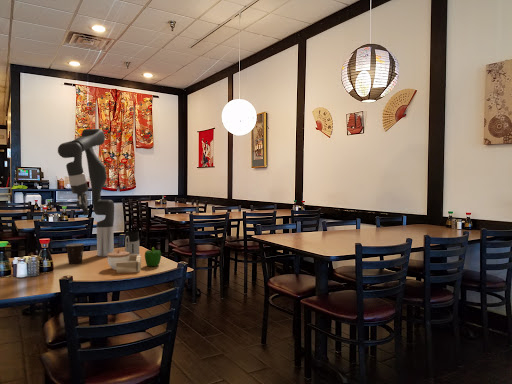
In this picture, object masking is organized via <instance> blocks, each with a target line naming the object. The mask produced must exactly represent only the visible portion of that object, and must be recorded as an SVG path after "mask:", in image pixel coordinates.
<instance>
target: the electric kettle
mask: <svg viewBox="0 0 512 384" xmlns="http://www.w3.org/2000/svg"><path fill="white" fill-rule="evenodd" d="M124 234H125V235H124V239H125V240H124V251H126V252H129V253H130V255H134V254H140V232H139V231H137V230H132V231H131V230H129V231H125V233H124Z"/></svg>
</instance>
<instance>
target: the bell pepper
mask: <svg viewBox="0 0 512 384" xmlns="http://www.w3.org/2000/svg"><path fill="white" fill-rule="evenodd" d="M144 259H145V260H144V261H145V264H146V266H147V267H152V266H153V267H157V266H159V264H160V263H161V259H162V252H161V250H160V249H157V250H156V249H155V247H154V246H153V247H152V248H151V250H149V249H148V250H146V251H145V253H144Z"/></svg>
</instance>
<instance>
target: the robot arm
mask: <svg viewBox="0 0 512 384" xmlns="http://www.w3.org/2000/svg"><path fill="white" fill-rule="evenodd" d="M105 140H106V136H105V133H104V131H103V130H102V129H100V128H87V129H83V130H82V132H81V136H80V137H77V138H75V139H73V140H70V141H66V142H62V143H60V145H59V146H58V147H57V154H58V155H59V157H61V158H63V159H70V158H73V161H70V162H67V164H66V165H65V166H66V171H67V175H68V181H69V185H70V190H71V192H72V194H74V195H75V194H76V195H77V196H76V200H77V205H78V206H79V208H80V210H82V214H83V216H88V215H89V209H88V205H89V202H88V194H87V193H86V192H88V191H89V186H88V182H87V178H86V174H85V172H84V168H83V153H84V152H85V156H86V163H87V167H88V175H89V181H90V182H89V183H90V186H91V187H90V188H91V193H92V194H91V195H92V208H93V213H94V214H95V215H96V216H105V218H104V219H101V220H99V221H97V222H96V254H97V255H96V256H98V257H107V254H108V253H111V252H115V250H114V249H115V248H114V247H115V245H114V221H115V203H114V201H113V200H112V199H102V197H101V196H102V195H101V193H102V189H103V188H104V185H105V184H106V182H107V179H108V176H107V170H106V166H105V163H103V162H102V160H100V158H99V157H98V156H97V155H96V153H95V150H94V148H93V147H95V146H102V145H103V144H104V143H105Z"/></svg>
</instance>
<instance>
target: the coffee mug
mask: <svg viewBox="0 0 512 384" xmlns="http://www.w3.org/2000/svg"><path fill="white" fill-rule="evenodd" d="M65 246H66V253H67V260H68V261H67V262H68V265H78V264H79V265H81V264H82V263H83V257H84V256H83V254H84V246H85V244H84V243H69V244H65Z"/></svg>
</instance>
